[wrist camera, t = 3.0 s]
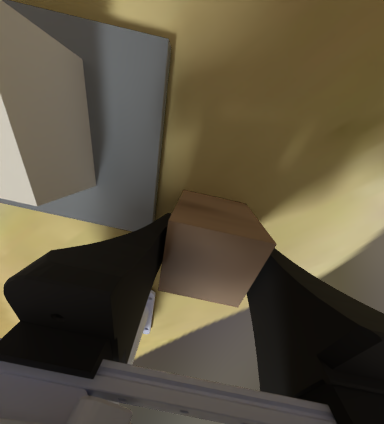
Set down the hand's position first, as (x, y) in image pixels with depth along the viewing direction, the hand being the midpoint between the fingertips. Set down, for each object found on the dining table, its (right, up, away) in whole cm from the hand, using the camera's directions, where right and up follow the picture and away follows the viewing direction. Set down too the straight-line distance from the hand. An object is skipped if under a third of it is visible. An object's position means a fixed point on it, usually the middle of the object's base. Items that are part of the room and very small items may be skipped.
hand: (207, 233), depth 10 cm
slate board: (-10, +7, -1) cm, 12 cm away
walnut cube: (0, +1, +1) cm, 2 cm away
